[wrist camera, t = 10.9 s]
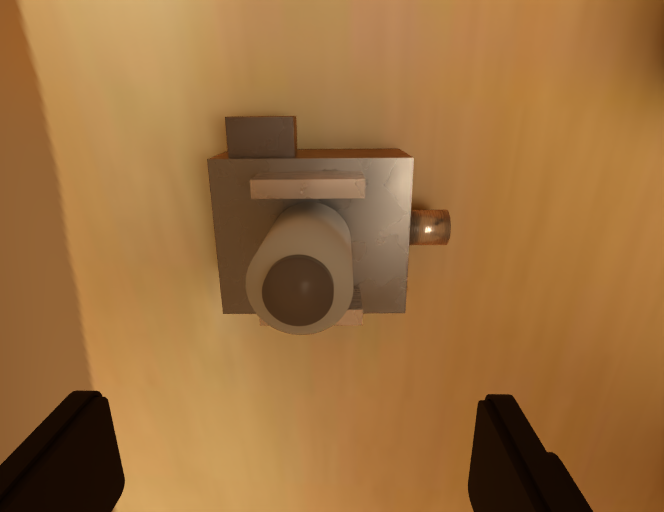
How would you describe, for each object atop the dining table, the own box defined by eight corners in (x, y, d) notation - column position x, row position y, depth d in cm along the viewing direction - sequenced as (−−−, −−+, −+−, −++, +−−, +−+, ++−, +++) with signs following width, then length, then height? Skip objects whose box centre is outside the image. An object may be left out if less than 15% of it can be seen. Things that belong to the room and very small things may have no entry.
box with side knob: (443, 114, 29) (488, 116, 21) (431, 278, 33) (464, 336, 25) (228, 116, 29) (184, 118, 21) (242, 279, 33) (210, 336, 25)
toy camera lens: (352, 203, 25) (356, 242, 18) (349, 280, 27) (352, 345, 19) (269, 201, 25) (238, 239, 18) (271, 278, 27) (244, 342, 20)
